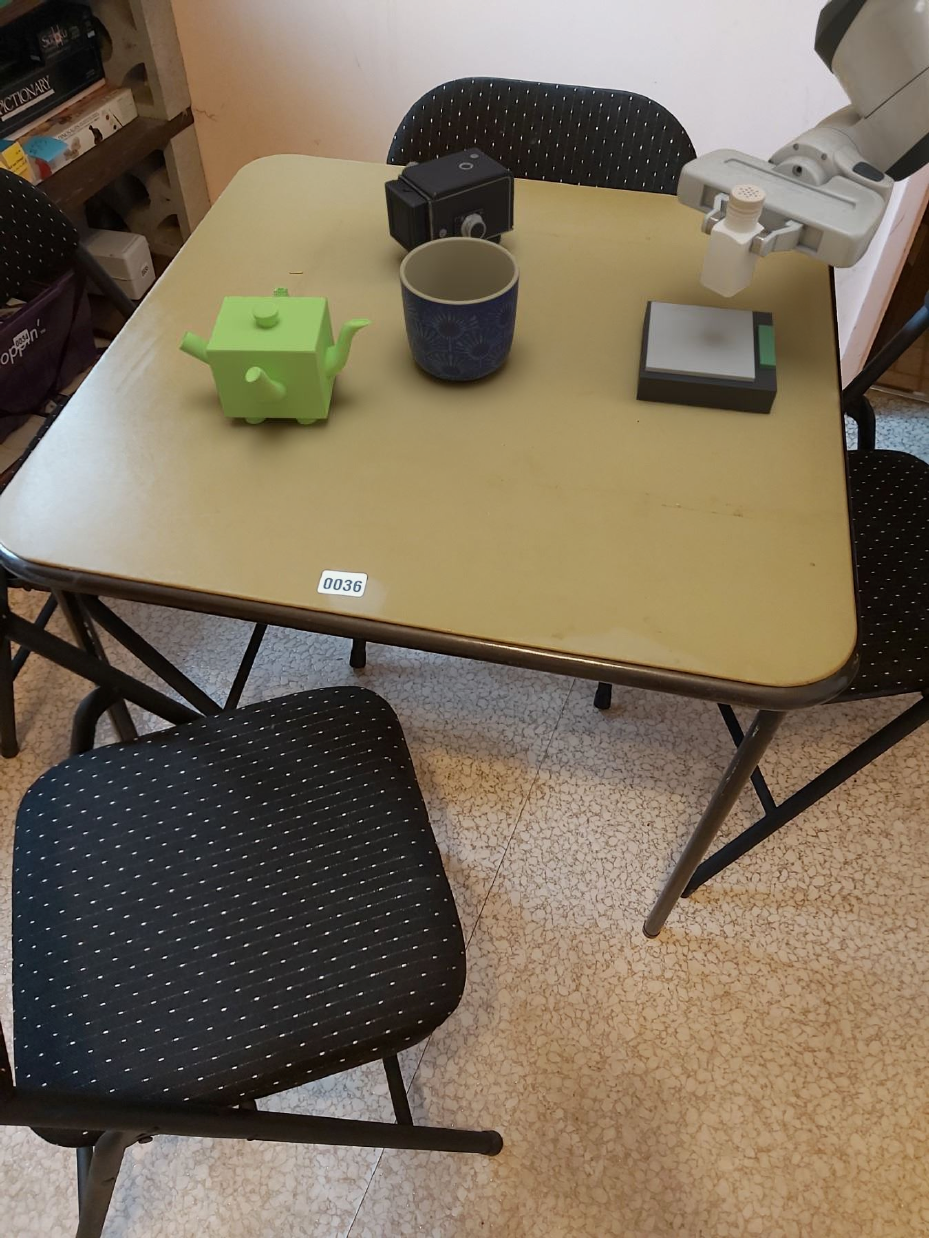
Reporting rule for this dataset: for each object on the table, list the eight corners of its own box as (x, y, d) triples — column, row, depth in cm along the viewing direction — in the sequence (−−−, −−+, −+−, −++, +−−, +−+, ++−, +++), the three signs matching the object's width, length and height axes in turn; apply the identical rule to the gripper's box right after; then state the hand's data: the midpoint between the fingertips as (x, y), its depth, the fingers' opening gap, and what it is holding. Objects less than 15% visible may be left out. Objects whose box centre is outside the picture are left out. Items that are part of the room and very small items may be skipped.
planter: (461, 312, 100) (460, 223, 91) (538, 358, 95) (544, 268, 86) (383, 357, 95) (374, 268, 86) (459, 408, 90) (458, 318, 81)
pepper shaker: (696, 284, 86) (717, 191, 78) (721, 270, 87) (744, 177, 79) (727, 301, 84) (752, 208, 76) (752, 286, 85) (779, 193, 78)
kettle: (381, 401, 90) (371, 309, 81) (277, 467, 85) (253, 376, 76) (295, 342, 97) (276, 250, 88) (192, 400, 91) (160, 308, 82)
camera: (472, 229, 113) (375, 252, 107) (480, 138, 105) (375, 158, 99) (518, 264, 108) (419, 290, 102) (530, 172, 99) (422, 194, 93)
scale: (765, 335, 97) (774, 307, 94) (769, 414, 89) (779, 386, 86) (643, 323, 98) (648, 296, 95) (636, 399, 90) (641, 372, 87)
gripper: (727, 121, 88) (650, 169, 82) (911, 186, 80) (839, 244, 74) (713, 181, 93) (640, 230, 87) (885, 248, 85) (816, 308, 79)
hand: (733, 237), depth 81 cm, fingers closed on pepper shaker, 4 cm apart
